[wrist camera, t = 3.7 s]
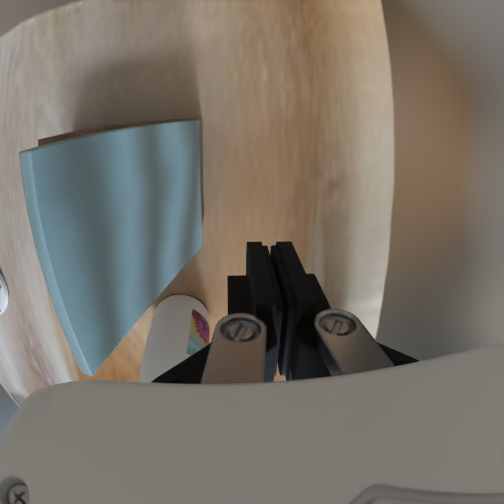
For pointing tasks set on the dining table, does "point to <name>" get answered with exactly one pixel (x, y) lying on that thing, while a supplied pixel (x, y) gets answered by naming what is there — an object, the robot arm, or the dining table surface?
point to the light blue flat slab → (113, 226)
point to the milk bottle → (174, 335)
